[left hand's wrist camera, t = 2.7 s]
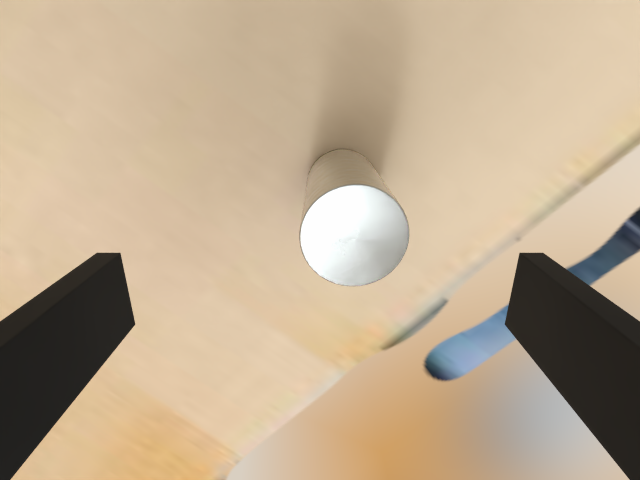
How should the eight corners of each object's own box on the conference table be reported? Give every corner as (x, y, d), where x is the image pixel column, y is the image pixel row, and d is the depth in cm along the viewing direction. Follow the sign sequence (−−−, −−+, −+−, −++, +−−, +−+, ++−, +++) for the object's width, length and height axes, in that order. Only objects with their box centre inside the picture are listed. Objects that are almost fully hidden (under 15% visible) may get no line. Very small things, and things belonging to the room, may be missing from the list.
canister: (297, 161, 29) (284, 202, 18) (367, 139, 28) (396, 169, 17) (318, 225, 31) (317, 297, 20) (384, 207, 30) (419, 271, 19)
